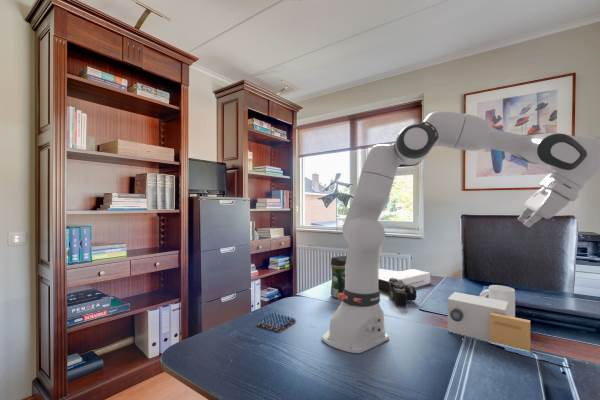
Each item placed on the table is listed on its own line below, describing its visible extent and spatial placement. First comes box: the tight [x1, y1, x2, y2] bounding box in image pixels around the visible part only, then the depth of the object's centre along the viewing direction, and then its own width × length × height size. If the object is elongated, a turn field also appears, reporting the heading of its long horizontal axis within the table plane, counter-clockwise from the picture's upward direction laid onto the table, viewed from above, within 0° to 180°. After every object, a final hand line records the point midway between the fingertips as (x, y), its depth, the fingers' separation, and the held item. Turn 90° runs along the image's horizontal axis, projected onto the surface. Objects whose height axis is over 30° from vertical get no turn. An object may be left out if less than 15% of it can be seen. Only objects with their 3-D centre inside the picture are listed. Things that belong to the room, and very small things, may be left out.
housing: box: [446, 291, 509, 341], centre depth 96 cm, size 12×16×11 cm
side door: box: [490, 312, 531, 352], centre depth 86 cm, size 2×10×9 cm, turn 50°
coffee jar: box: [330, 255, 347, 299], centre depth 135 cm, size 10×8×19 cm
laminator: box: [378, 268, 431, 294], centre depth 153 cm, size 34×12×6 cm, turn 124°
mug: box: [479, 284, 516, 317], centre depth 110 cm, size 8×12×12 cm
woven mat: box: [257, 312, 297, 333], centre depth 104 cm, size 10×11×2 cm
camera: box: [388, 278, 417, 309], centre depth 128 cm, size 16×10×10 cm, turn 179°
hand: (522, 223), depth 93 cm, fingers open, 8 cm apart
